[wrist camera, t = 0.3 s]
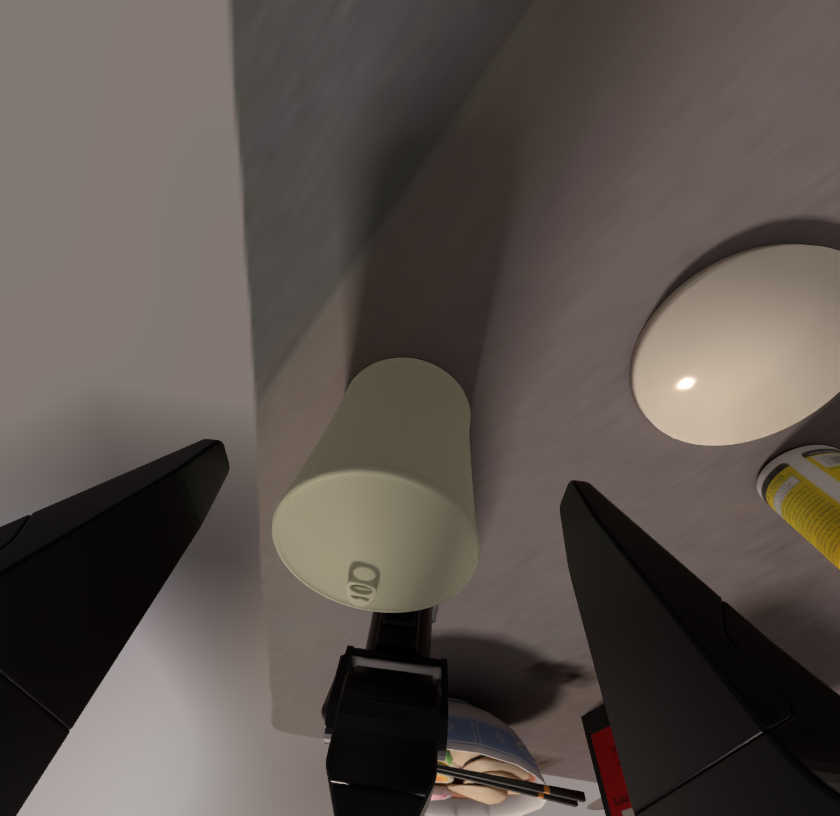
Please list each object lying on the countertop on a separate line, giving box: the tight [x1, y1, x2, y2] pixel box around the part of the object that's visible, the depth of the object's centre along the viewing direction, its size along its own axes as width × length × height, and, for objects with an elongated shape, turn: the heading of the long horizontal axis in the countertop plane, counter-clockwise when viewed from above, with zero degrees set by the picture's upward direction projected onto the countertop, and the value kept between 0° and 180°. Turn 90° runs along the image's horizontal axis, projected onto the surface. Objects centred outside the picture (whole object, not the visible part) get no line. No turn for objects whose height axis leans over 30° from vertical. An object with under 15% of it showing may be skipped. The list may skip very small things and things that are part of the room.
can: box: [272, 357, 480, 613], centre depth 20 cm, size 9×9×12 cm
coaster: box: [629, 244, 840, 446], centre depth 21 cm, size 12×12×1 cm
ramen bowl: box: [425, 698, 586, 816], centre depth 43 cm, size 25×23×8 cm
